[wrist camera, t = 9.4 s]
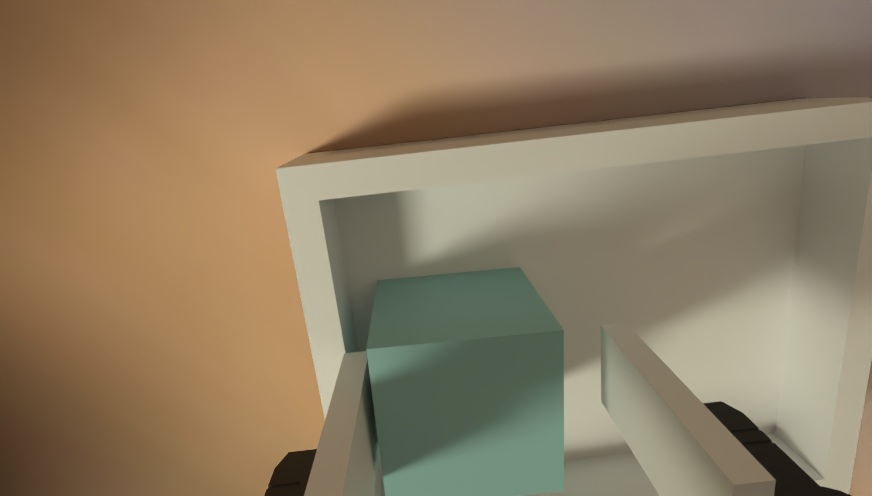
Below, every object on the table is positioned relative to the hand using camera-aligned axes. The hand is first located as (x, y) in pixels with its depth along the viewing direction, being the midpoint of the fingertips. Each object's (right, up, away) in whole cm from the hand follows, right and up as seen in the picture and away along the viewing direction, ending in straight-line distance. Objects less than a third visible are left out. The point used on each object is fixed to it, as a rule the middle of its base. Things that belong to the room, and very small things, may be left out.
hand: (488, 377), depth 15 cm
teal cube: (-1, +1, +3) cm, 3 cm away
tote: (+4, +2, +4) cm, 6 cm away
